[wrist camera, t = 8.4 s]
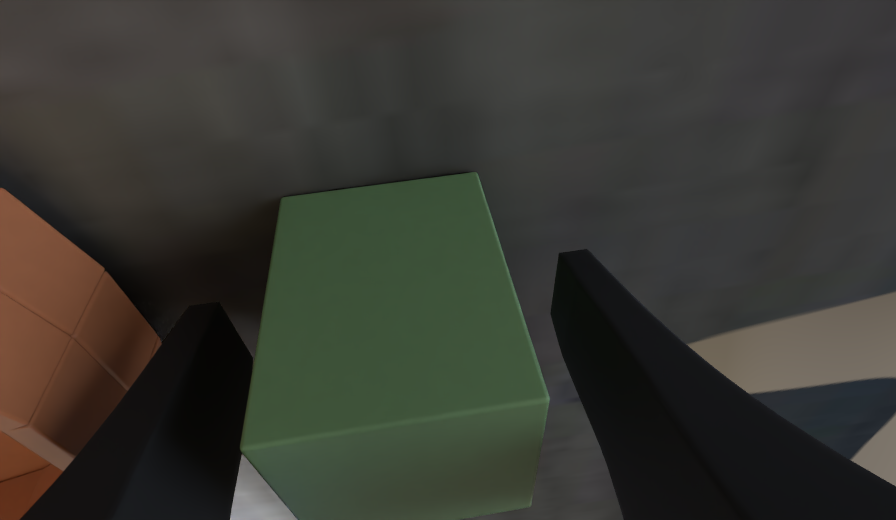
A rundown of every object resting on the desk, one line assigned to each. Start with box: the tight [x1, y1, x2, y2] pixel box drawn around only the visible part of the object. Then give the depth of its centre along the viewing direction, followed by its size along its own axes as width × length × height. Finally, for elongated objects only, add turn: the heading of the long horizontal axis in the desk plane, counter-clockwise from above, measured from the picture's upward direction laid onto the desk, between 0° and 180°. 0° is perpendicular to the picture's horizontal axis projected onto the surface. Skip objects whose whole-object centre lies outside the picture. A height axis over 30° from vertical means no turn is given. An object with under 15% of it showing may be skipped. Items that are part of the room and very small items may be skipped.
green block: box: [240, 172, 550, 520], centre depth 10 cm, size 4×4×6 cm
